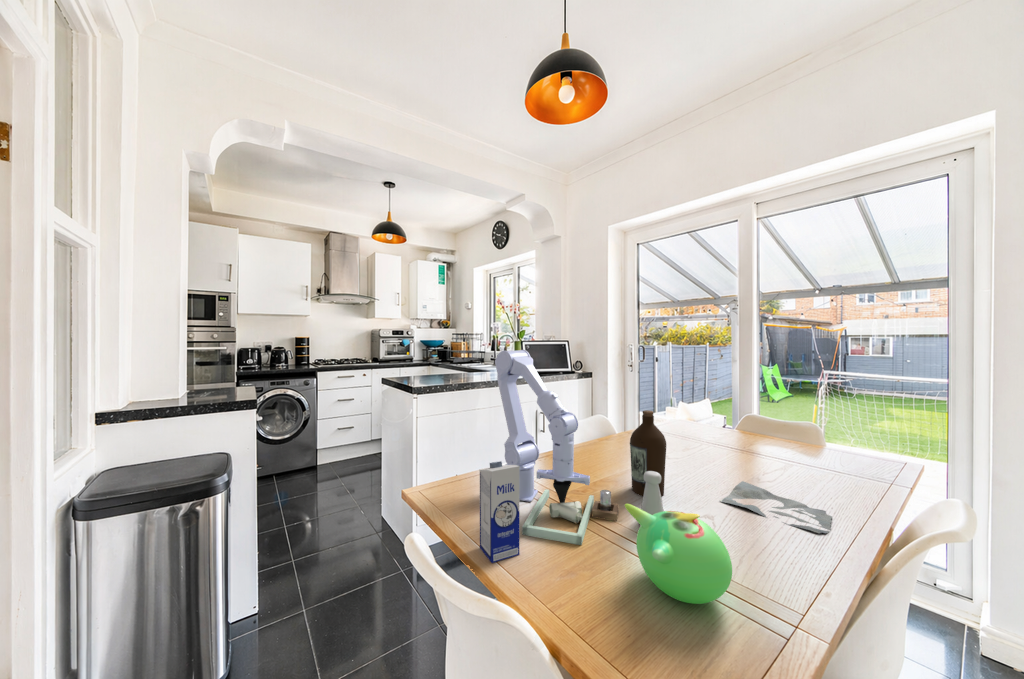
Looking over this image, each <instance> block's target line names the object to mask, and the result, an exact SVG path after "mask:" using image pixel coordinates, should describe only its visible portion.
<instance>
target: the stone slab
mask: <svg viewBox="0 0 1024 679" xmlns="http://www.w3.org/2000/svg"><path fill="white" fill-rule="evenodd" d="M735 499H736V500H735ZM747 499H749V500H761V501H762V500H763V501H766V500H771V501H772V500H773V501H776V502H780V503H782V504H783V506H771V508H773V509H776V510H777V511H776V510H768V512H769V513H773V514H776V515H778V516H781V517H787V518H792V519H795V520H796V521H798V522H801V523H806V524H809V525H804V524H803V525H802V524H795V523H791V524H788V523H787V522H783V521H782V523H783V524H784V525H789V526H791V527H796V528H799V529H800V528H801V529H804V530H808V531H811V532H813V533H817V534H822V533H823V534H827V533H830V532H832V528H831V527H832V524H831V523H832V521H833V520H832V518H833V516H832V515H829V514H827V510H824V509H818V508H812V507H809V506H808V504H807V505H806V504H805V503H802V502H800V501H797V500H794V499H791V498H786V497H782V496H779V495H776V494H773V493H772V492H771V491H769V490H767V489H764V488H762V487H760V486H757V485H755V484H751V483H749V482H747V481H744V480H742V481H740V482H739V483H738V484H737V485H735V486H734V488H733V489H732V490H731V492H729V495H727V496H725V497H723V498H722V499H720V500H719V501H720V502H721V503H725V504H731V505H733V506H734V505H735V506H737V507H738V506H739V507H742V508H746V509H749V510H751V511H753V512H754V513H757V514H759V515H761V516H762V517H764V518H767V519H768V516H767V515H766V514H765V513H764V512H763V511H762V510H761V509H760V508H759V507H758V506H756V505H752V504H743V503H740V502H737V500H747ZM789 509H791V510H790V511H791V512H795V513H796V514H797V513H798V514H801V515H806V516H808V518H811V519H813V520H815V521H817V522H818V524H819V525H818V524H814V523H811V522H809V521H807V520H805V519H802V518H799V517H797V516H794V515H793V514H790V513H787V512H783V511H778V510H789ZM807 513H808V514H807ZM809 514H810V515H809ZM778 516H775V515H773V516H772V517H773V518H775V519H779V517H778ZM810 525H812V526H810ZM813 526H816V527H819V528H820V529H819V528H815V527H813ZM821 528H822V529H821ZM825 529H826V530H825Z"/></svg>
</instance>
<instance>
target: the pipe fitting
mask: <svg viewBox="0 0 1024 679" xmlns="http://www.w3.org/2000/svg"><path fill="white" fill-rule="evenodd" d="M548 505H549V507H548V509H549V515H550V517H551V518H562V519H565V520H567V521H570V522H573V523H575V524H578V523H579V522H581V520H582V517H583V513H582V512H583V508H582V503H581V501H578V500H577V501H569V502H566V501H565V503H560V502H553V503H552V502H551V503H549V504H548Z"/></svg>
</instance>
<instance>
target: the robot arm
mask: <svg viewBox="0 0 1024 679" xmlns="http://www.w3.org/2000/svg"><path fill="white" fill-rule="evenodd" d="M494 363H495V368H496V369H495V370H496V373H497V385H498V389H499V392H500V394H499V395H500V398H501V403H502V408H503V411H504V412H503V413H504V416H505V421H506V422H505V423H506V426H507V429H508V430H507V431H508V434H509V435H508V438H507V439H506V440H505V442H504V444H503V445H504V459H505V462H506V464H504V465H517V466H520V468H519V501H523V502H529V503H531V502H532V501H533V500H534V498H535V497H536V495H537V494H538V493H539V490H538V489H535V465H536V461H537V460H538V459H539V456H540V449H539V446H538V445H537V444H536V441H535V438H534V436H533V435H532V434H530V433H529V432H528V431H527V426H526V423H525V419H524V418H525V417H524V413H523V408H522V405H521V400H520V396H519V392H518V386H517V380H518V379H519V377H522V378H523V380H524V381H525V382H526V383H527V385H528V386H529V387H530V388H531V390H532V391H533V393H534V394H535V395H536V396H537V400H536V403H537V405H538V407H539V409H540V410H541V412H542V413H543V415H544V416H545V418H546V419H547V421H548V422H549V424H548V425H547V428H548V430H549V433H550V435H551V440H552V469H537V471H536V479H539V480H541V479H546V480H553V482H552V486H553V488H554V490H555V493H556V495H557V497H558V501H559V503H566V499H567V495H568V492H569V489H570V487H571V485H572V483H575V484H576V483H577V484H583V485H584V484H585V485H586V486H590V483H591V476H590V475H587V474H583V473H579V472H575V471H574V465H575V464H574V461H575V460H574V458H575V455H574V454H575V453H574V451H575V450H574V446H575V444H574V443H575V442H574V441H575V440H574V439H575V432H576V431H577V430H578V427H579V422H578V419H577V417H576V415H575V413H573V412H571V411H569V410H567V409H566V408H565V407H564V405H563V404H562V402H561V400H560V399H559V396H558V393H555V392H554V391H552V390H548V389H547V387H546V385H545V383H544V382H543V380H542V378H541V376H540V375H539V373H538V371H537V369H536V367H535V366H534V359H533V357H531V355H530V353H529V351H527V350H526V349H520V350H501V351H499V353H498V354H497V356H496V358H495V360H494Z"/></svg>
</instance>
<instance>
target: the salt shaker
mask: <svg viewBox="0 0 1024 679" xmlns="http://www.w3.org/2000/svg"><path fill="white" fill-rule="evenodd" d="M644 481H645V482H646V484H645V490H644V495H643V496H642V501H641V508H640V509H641V510H643V511H645V512H647V513H649V514H651V515H653V514H656V513H659V512H663V511H665V510H664V509H665V508H664V505H663V501H662V496H661V494H660V489H659V483H660V482H661V475H660V474H659V473H657V472H654V471H647V472H645V473H644Z"/></svg>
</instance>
